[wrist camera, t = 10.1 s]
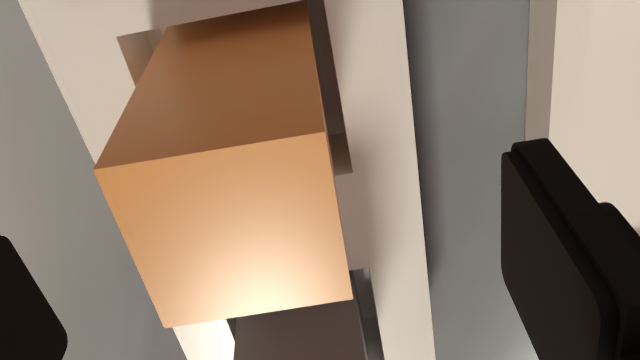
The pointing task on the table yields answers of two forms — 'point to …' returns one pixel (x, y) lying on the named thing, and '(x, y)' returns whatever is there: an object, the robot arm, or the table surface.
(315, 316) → the grey rectangular block
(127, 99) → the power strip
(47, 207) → the table surface
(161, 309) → the orange rectangular block
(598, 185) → the tray
